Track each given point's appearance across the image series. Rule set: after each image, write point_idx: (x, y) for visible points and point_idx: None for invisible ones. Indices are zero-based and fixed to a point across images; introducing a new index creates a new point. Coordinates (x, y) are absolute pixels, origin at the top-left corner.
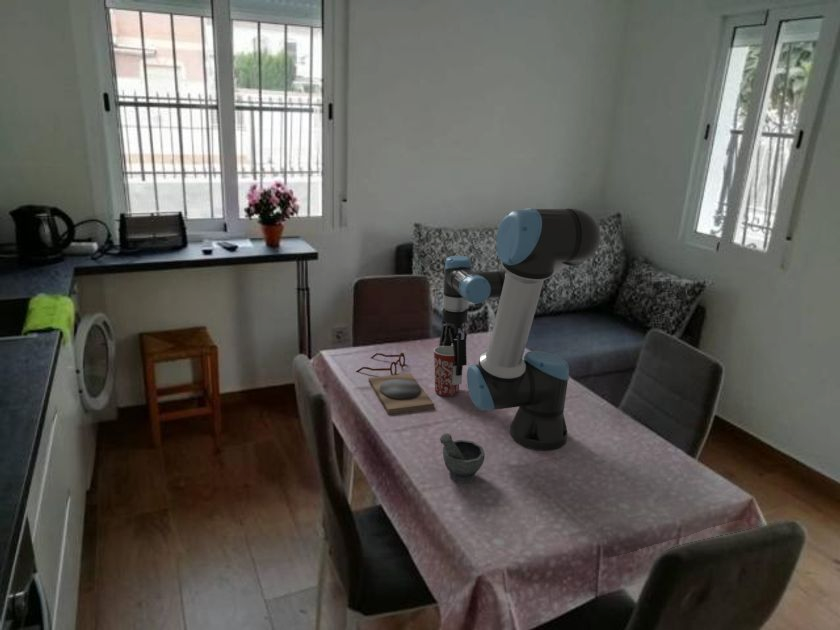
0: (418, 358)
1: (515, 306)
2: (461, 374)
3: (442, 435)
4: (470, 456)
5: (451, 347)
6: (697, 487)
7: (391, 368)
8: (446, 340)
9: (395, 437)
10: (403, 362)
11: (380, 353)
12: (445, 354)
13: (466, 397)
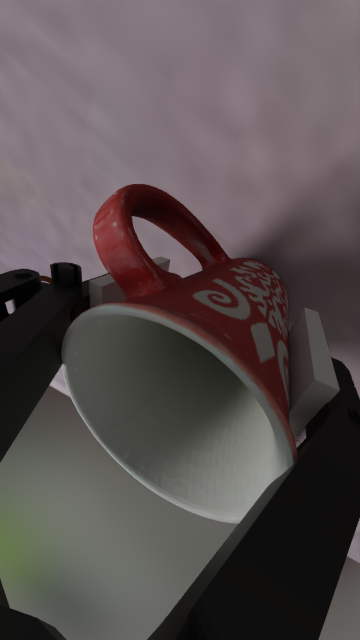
0: (22, 218)
1: None
2: (345, 368)
3: None
4: None
5: (86, 330)
6: None
7: None
8: (24, 417)
9: (353, 542)
10: (46, 281)
11: (13, 311)
12: (120, 336)
13: (332, 266)
